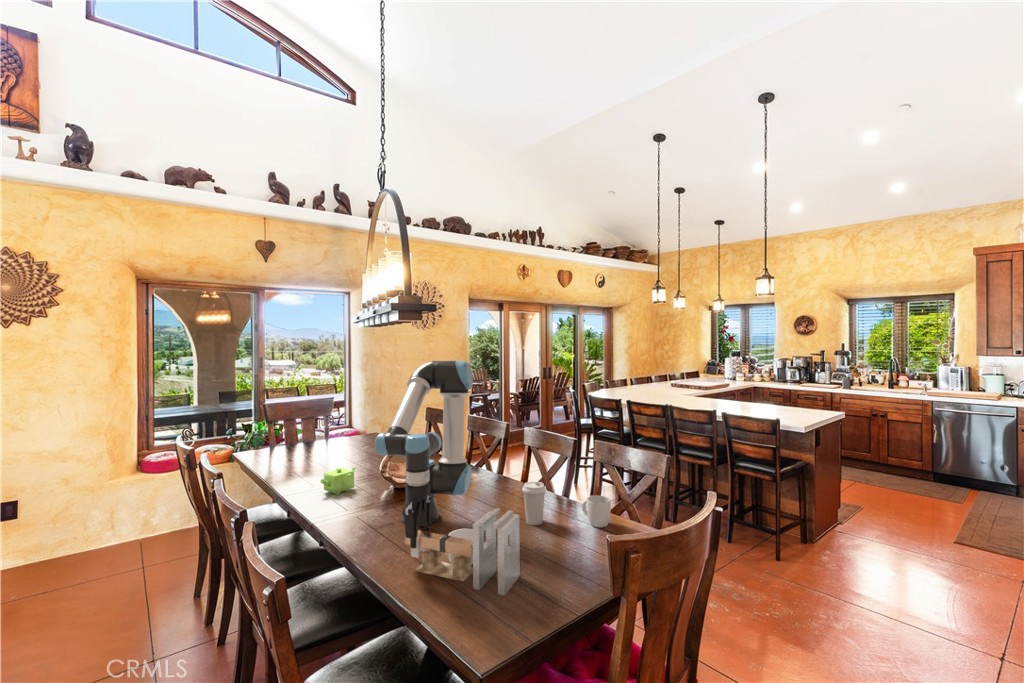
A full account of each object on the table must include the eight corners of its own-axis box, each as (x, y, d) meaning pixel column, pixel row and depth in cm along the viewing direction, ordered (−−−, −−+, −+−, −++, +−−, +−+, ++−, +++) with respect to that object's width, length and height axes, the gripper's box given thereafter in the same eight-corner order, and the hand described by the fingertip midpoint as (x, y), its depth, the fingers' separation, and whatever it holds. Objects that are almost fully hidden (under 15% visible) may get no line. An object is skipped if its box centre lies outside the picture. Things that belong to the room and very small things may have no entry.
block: (405, 544, 152) (405, 533, 152) (411, 539, 156) (411, 528, 155) (470, 557, 143) (470, 545, 143) (476, 552, 146) (476, 540, 146)
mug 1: (466, 569, 149) (466, 544, 149) (441, 561, 155) (441, 537, 155) (490, 553, 160) (490, 529, 160) (466, 546, 166) (466, 523, 166)
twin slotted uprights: (473, 588, 138) (472, 521, 137) (490, 569, 149) (490, 507, 149) (504, 595, 134) (503, 526, 134) (519, 575, 145) (519, 511, 145)
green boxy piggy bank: (357, 485, 235) (357, 463, 235) (353, 495, 221) (353, 471, 221) (326, 487, 232) (325, 465, 232) (320, 497, 218) (319, 473, 218)
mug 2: (615, 524, 183) (615, 499, 183) (601, 531, 178) (600, 505, 177) (590, 515, 193) (589, 491, 193) (575, 521, 187) (575, 496, 187)
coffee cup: (544, 527, 181) (544, 489, 181) (520, 525, 183) (520, 487, 183) (547, 518, 191) (547, 481, 191) (524, 516, 193) (524, 480, 193)
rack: (416, 571, 148) (416, 552, 148) (428, 561, 155) (428, 543, 155) (463, 581, 142) (463, 561, 142) (474, 570, 148) (474, 552, 148)
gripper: (412, 492, 143) (413, 568, 143) (441, 476, 158) (442, 544, 159) (392, 489, 146) (393, 563, 146) (422, 474, 161) (423, 541, 161)
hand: (419, 553), depth 152 cm, fingers closed on block, 4 cm apart
